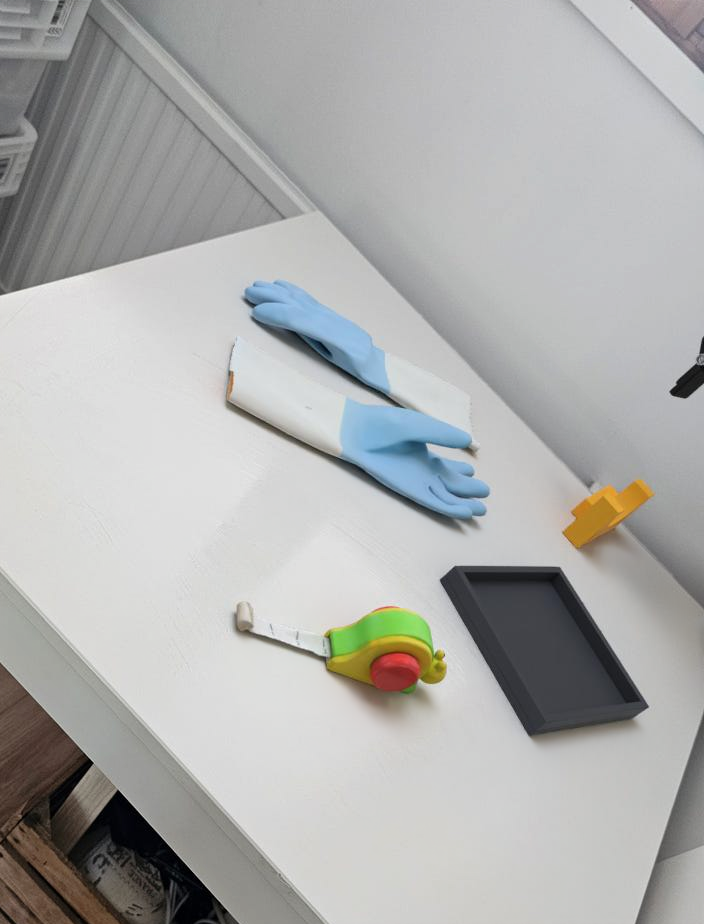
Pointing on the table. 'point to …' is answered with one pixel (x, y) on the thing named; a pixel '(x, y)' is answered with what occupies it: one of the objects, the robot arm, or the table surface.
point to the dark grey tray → (543, 646)
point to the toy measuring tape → (366, 647)
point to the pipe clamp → (605, 511)
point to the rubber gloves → (359, 404)
